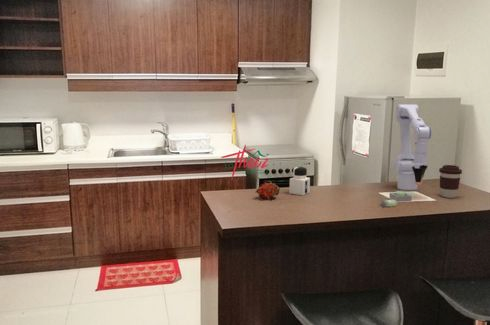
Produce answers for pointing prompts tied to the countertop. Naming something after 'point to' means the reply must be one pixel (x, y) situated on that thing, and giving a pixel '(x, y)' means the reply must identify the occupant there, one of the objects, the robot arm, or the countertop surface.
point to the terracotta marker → (419, 182)
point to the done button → (400, 193)
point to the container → (299, 182)
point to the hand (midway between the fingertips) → (418, 181)
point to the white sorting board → (407, 196)
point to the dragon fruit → (268, 190)
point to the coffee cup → (449, 180)
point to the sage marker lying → (388, 203)
